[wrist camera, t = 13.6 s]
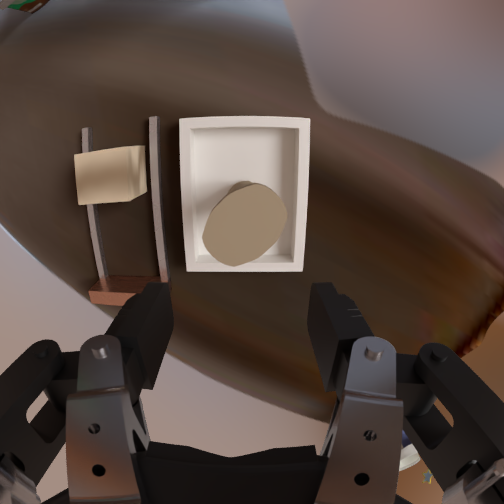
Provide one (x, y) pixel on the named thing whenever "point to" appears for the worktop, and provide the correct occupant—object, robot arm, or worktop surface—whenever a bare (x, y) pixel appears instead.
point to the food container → (23, 5)
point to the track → (125, 287)
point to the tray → (244, 169)
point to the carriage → (110, 175)
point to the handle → (244, 223)
